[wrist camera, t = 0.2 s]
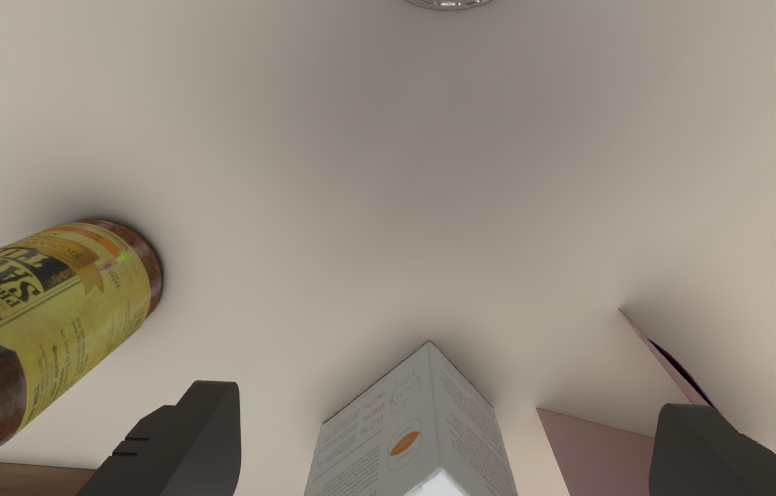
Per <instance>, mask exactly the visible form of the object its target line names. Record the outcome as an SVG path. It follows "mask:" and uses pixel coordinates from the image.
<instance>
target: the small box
mask: <svg viewBox="0 0 776 496" xmlns="http://www.w3.org/2000/svg"><path fill="white" fill-rule="evenodd" d="M304 496H518V494H517V490H516V486H515V482H514V478H513V475H512V471H511V468H510V465H509V461H508V457H507V454H506V450H505V447H504V443H503V439H502V435H501V432H500V428H499V425H498V421H497V418H496V414H495V411H494V409H493V408H492V407H491V406H490V405H489V404H488V403H487V402H486V400H485V399H484V398H483V397H482V396H481V395H480V394H479V393H478V392H477V391H476V390H475V388H474V387H473V386H472V385H471V384H470V383H469V382H468V381H467V380H466V379H465V378H464V377H463V376H462V375H461V373H460V372H459V371H458V370H457V369H456V368H455V367H454V366H453V365H452V364H451V363H450V362H449V361H448V360H447V358H446V357H445V356H444V355H443V354H442V353H441V352H440V351H439V350H438V349H437V348H436V347H435V346H434V345H433V344H432V343H431V342H427V343H426V344H425V345H423V346H422V347H421V348H420V349H418V350H417V351H416V352H415V353H414V354H412V355H411V356H410V357H408V358H407V359H406V360H405V361H403V362H402V363H401V364H400V365H398V366H397V367H396V368H394V369H393V370H392V371H391V372H390V373H388V374H387V375H386V376H384V377H383V378H382V379H381V380H379V381H378V382H377V383H376V384H374V385H373V386H372V387H370V388H369V389H368V390H367V391H365V392H364V393H363V394H362V395H360V396H359V397H358V398H357V399H355V400H354V401H353V402H352V403H350V404H349V405H348V406H347V407H345V408H344V409H343V410H341V411H340V412H339V413H338V414H336V415H335V416H334V417H333V418H331V419H330V420H329V421H327V422H326V423H325V424H323V425H322V427H321V429H320V433H319V437H318V441H317V445H316V449H315V452H314V457H313V460H312V464H311V468H310V472H309V476H308V480H307V485H306V488H305V492H304Z"/></svg>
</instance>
